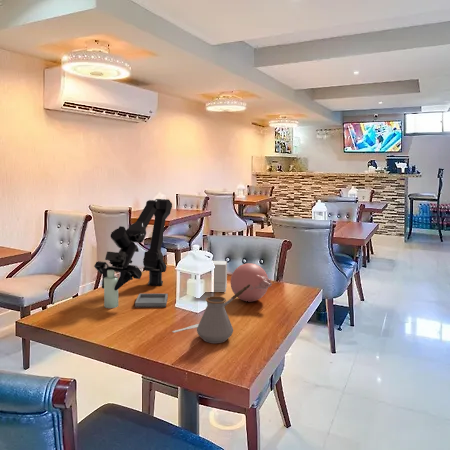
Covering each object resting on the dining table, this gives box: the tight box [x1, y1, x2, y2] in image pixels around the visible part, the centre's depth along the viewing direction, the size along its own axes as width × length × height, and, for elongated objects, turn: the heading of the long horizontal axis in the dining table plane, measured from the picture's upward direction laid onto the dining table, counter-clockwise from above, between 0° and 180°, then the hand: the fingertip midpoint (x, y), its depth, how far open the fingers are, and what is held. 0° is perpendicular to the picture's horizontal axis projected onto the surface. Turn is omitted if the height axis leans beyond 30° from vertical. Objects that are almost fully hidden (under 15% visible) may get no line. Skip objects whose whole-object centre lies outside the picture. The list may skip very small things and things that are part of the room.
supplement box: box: [212, 260, 228, 293], centre depth 179 cm, size 7×7×13 cm
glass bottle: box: [103, 269, 119, 309], centre depth 156 cm, size 5×5×14 cm
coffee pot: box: [196, 284, 253, 344], centre depth 132 cm, size 21×12×15 cm, turn 132°
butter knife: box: [171, 323, 199, 334], centre depth 133 cm, size 1×24×3 cm
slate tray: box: [134, 293, 169, 308], centre depth 162 cm, size 12×12×2 cm
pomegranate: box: [230, 262, 273, 303], centre depth 164 cm, size 15×20×15 cm
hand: (108, 288), depth 155 cm, fingers open, 5 cm apart
